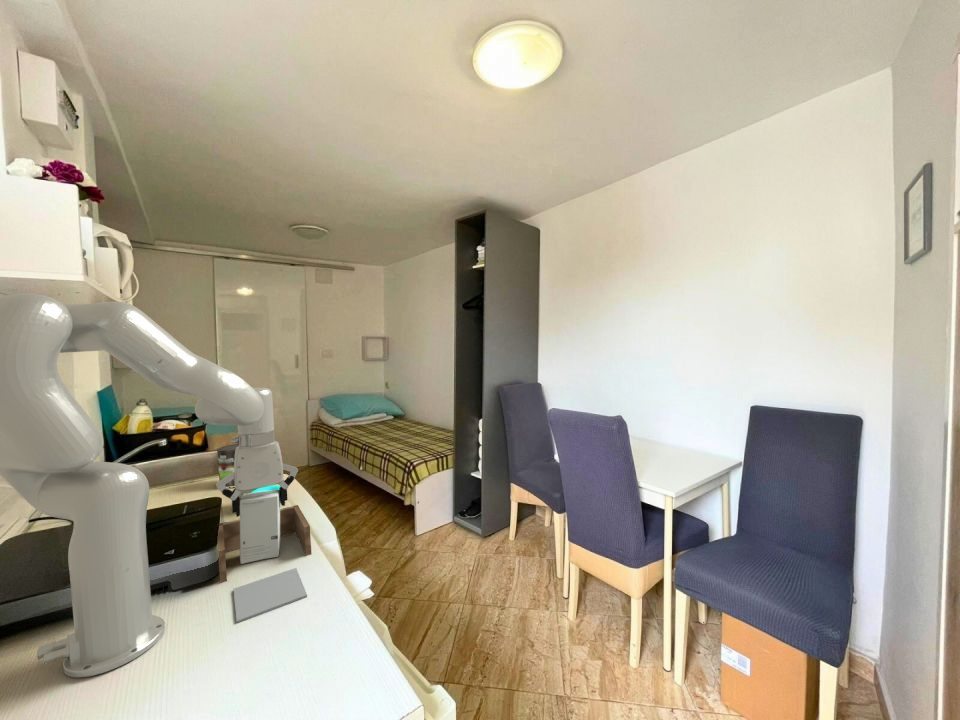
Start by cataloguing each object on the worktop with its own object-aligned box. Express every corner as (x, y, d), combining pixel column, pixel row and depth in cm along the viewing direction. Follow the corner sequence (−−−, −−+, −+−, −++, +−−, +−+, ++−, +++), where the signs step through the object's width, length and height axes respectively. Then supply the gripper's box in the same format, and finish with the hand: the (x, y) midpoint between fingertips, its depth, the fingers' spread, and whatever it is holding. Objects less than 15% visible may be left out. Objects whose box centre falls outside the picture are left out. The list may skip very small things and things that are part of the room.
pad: (236, 623, 71) (236, 621, 71) (233, 590, 81) (233, 588, 81) (307, 596, 78) (307, 594, 78) (296, 569, 88) (296, 567, 88)
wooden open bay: (220, 583, 84) (218, 551, 83) (218, 552, 97) (217, 524, 96) (311, 553, 94) (309, 525, 94) (299, 529, 107) (297, 504, 107)
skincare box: (240, 565, 90) (236, 501, 90) (244, 552, 96) (241, 493, 95) (280, 556, 93) (277, 495, 93) (282, 545, 99) (279, 487, 98)
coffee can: (237, 489, 141) (234, 450, 141) (212, 488, 143) (209, 450, 142) (257, 479, 151) (255, 443, 151) (234, 478, 153) (232, 443, 152)
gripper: (213, 448, 86) (218, 525, 86) (298, 436, 96) (302, 504, 96) (213, 442, 92) (217, 513, 92) (293, 431, 102) (296, 495, 102)
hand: (260, 509), depth 94 cm, fingers closed on skincare box, 9 cm apart
